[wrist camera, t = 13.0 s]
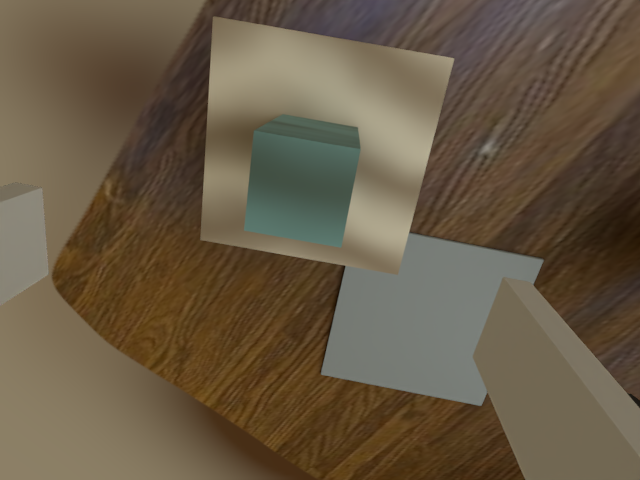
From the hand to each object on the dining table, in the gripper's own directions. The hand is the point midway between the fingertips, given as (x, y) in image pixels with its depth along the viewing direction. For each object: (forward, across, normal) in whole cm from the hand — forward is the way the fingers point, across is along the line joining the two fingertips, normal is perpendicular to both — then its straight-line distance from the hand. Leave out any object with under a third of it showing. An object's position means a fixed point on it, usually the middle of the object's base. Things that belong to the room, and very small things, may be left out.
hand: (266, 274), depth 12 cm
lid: (+19, 0, 0) cm, 19 cm away
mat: (+27, -13, +16) cm, 34 cm away
